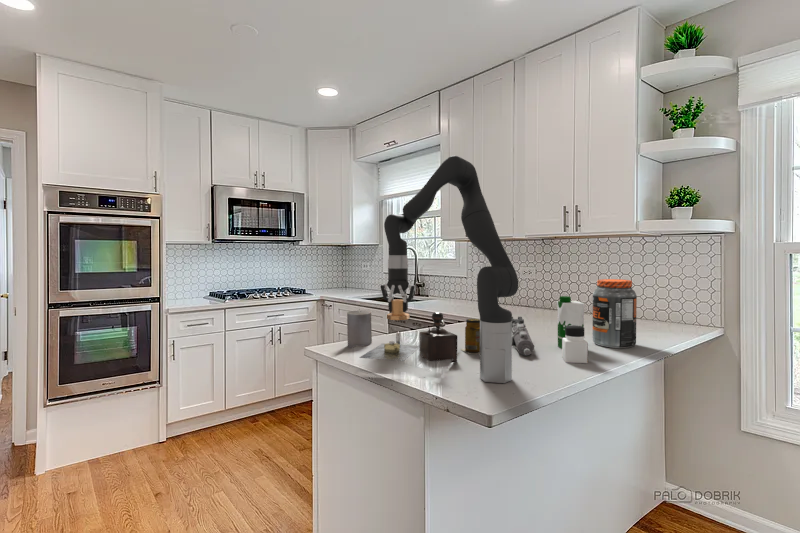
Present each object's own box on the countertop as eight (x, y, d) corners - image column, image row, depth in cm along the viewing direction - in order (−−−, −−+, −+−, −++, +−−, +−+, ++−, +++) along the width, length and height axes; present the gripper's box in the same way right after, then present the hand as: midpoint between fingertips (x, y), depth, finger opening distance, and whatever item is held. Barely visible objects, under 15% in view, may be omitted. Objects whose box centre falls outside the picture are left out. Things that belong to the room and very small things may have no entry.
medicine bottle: (588, 363, 145) (588, 327, 144) (565, 362, 146) (565, 327, 146) (583, 358, 152) (583, 324, 151) (561, 357, 153) (562, 323, 153)
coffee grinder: (416, 357, 154) (416, 307, 154) (445, 355, 158) (445, 305, 157) (434, 369, 140) (434, 313, 139) (465, 365, 143) (465, 311, 143)
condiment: (478, 348, 168) (478, 317, 168) (487, 353, 160) (487, 321, 159) (460, 349, 167) (460, 318, 166) (468, 354, 158) (468, 322, 158)
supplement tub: (586, 340, 182) (587, 278, 181) (626, 340, 180) (626, 278, 180) (600, 348, 166) (600, 281, 165) (643, 349, 165) (644, 281, 164)
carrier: (403, 364, 145) (403, 343, 145) (359, 361, 150) (358, 340, 150) (421, 348, 168) (421, 330, 168) (382, 346, 173) (382, 328, 173)
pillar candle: (353, 343, 180) (352, 307, 179) (375, 344, 177) (374, 307, 177) (343, 348, 171) (342, 310, 170) (367, 349, 168) (366, 311, 167)
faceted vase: (405, 320, 161) (405, 301, 161) (384, 319, 163) (384, 301, 163) (411, 317, 169) (411, 299, 168) (391, 316, 171) (391, 298, 171)
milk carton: (554, 346, 172) (555, 295, 171) (577, 346, 171) (578, 295, 171) (562, 351, 163) (563, 298, 162) (587, 351, 163) (587, 297, 162)
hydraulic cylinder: (522, 332, 188) (523, 310, 186) (537, 368, 152) (537, 341, 150) (505, 332, 189) (505, 310, 187) (515, 368, 153) (516, 341, 151)
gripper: (376, 267, 164) (377, 312, 165) (413, 267, 160) (413, 313, 160) (383, 266, 171) (383, 309, 172) (418, 266, 167) (418, 311, 167)
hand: (398, 311), depth 166 cm, fingers closed on faceted vase, 4 cm apart
